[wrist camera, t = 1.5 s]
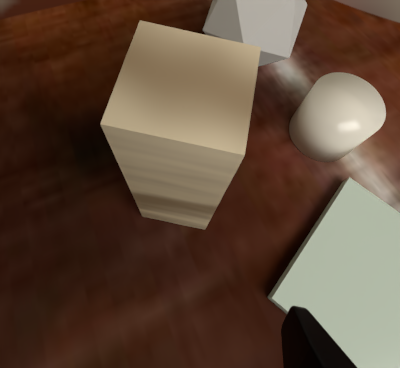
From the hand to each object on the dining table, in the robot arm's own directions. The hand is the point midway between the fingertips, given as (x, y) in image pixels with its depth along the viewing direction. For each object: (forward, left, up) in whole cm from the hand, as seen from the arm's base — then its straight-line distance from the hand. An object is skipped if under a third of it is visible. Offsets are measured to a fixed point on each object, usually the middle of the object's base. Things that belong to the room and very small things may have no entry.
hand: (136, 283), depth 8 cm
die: (+22, +8, -13) cm, 27 cm away
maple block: (+6, +3, -13) cm, 15 cm away
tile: (+10, -13, -13) cm, 21 cm away
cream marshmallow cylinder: (+19, -3, -13) cm, 23 cm away
